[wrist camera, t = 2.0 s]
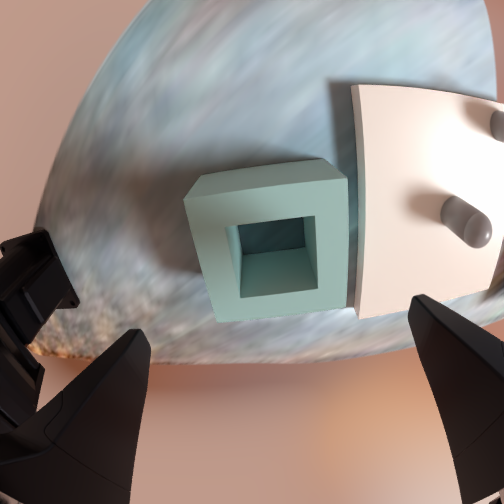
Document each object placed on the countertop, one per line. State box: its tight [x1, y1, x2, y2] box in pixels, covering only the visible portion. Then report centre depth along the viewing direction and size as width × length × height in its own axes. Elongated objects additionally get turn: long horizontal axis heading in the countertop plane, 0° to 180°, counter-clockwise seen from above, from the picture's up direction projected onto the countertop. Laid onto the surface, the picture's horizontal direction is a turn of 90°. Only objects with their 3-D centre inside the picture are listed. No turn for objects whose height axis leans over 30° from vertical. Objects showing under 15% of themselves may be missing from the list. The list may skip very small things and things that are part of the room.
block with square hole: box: [183, 159, 349, 323], centre depth 14 cm, size 6×6×4 cm
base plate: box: [351, 85, 504, 319], centre depth 13 cm, size 12×14×5 cm
